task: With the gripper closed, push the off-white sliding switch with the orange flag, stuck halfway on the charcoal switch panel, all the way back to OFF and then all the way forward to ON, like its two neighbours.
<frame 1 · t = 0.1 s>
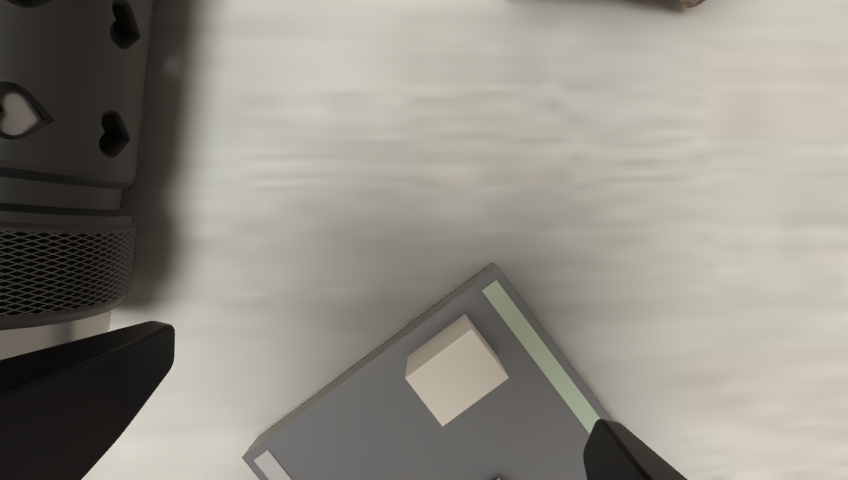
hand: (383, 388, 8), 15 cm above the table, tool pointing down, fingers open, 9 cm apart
muzzle brake: (123, 80, 23), on the table
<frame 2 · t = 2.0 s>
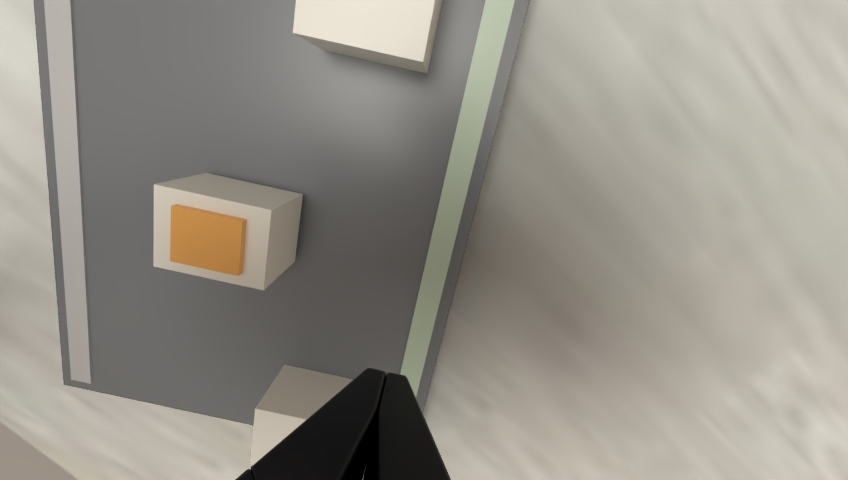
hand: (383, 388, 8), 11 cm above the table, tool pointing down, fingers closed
switch panel: (275, 206, 19), on the table
tripped switch: (231, 228, 15), point 4 cm above the table, slide at 4.0 cm
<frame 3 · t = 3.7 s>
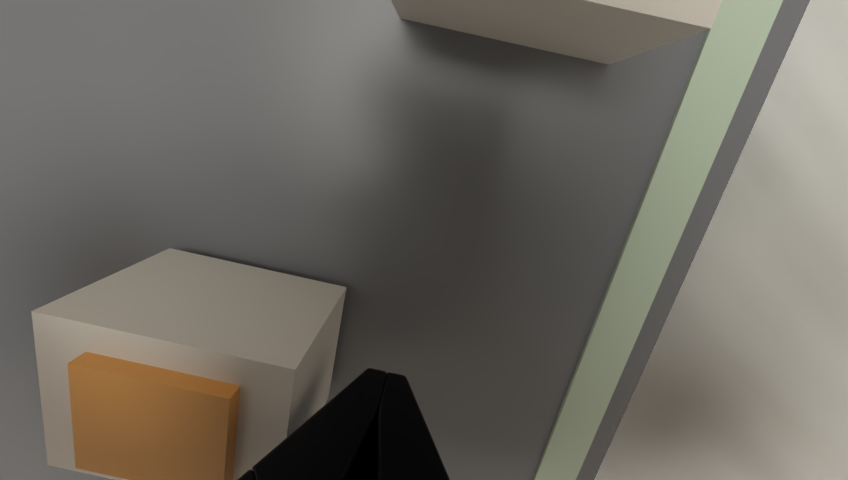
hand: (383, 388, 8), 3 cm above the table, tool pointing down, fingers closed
switch panel: (295, 287, 11), on the table
tripped switch: (211, 369, 8), point 4 cm above the table, slide at 3.9 cm, touching gripper
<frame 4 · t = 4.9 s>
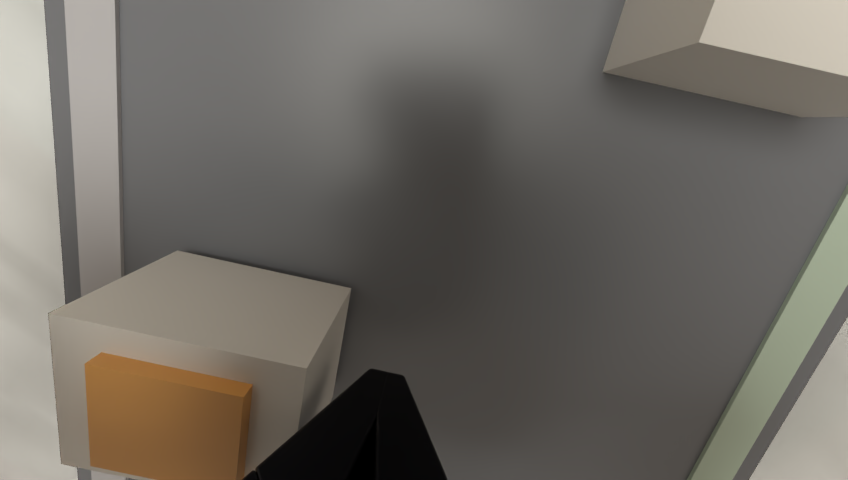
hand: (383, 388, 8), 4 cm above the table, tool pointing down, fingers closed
switch panel: (428, 316, 12), on the table
tripped switch: (221, 369, 8), point 4 cm above the table, slide at 0.0 cm, touching gripper
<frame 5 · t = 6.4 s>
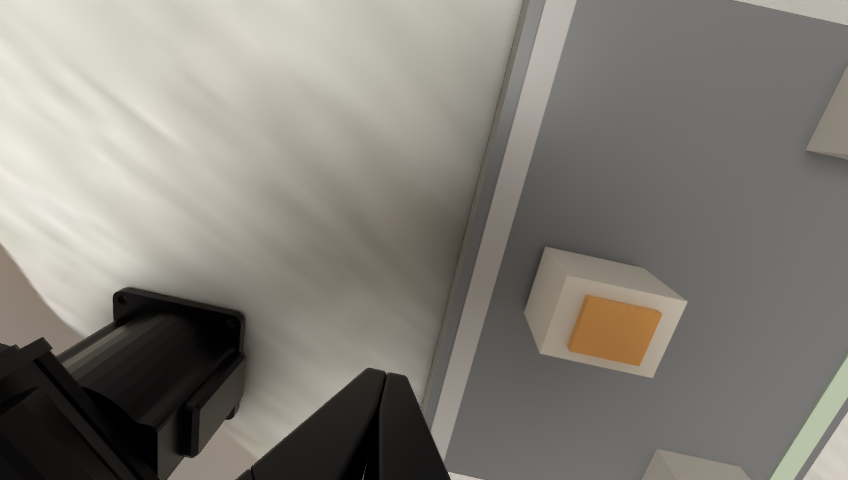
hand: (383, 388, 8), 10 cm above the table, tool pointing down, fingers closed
switch panel: (650, 288, 18), on the table
tripped switch: (596, 309, 14), point 4 cm above the table, slide at 0.0 cm
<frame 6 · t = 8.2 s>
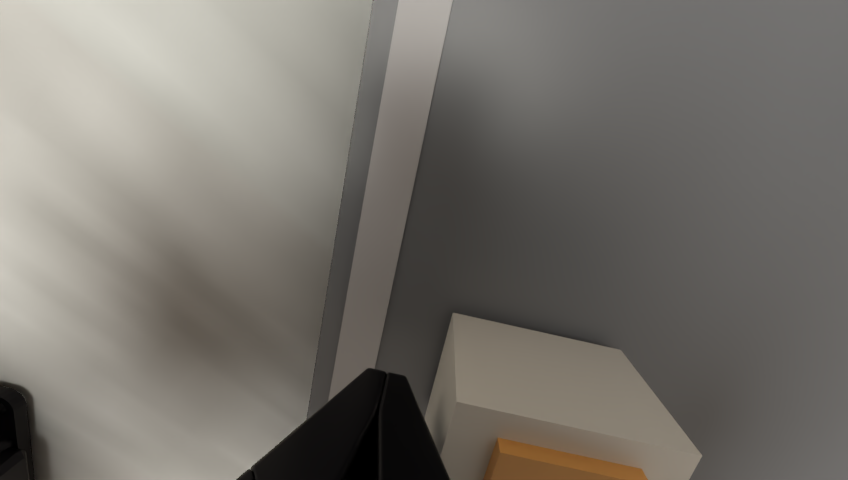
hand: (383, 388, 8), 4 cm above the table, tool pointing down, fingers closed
switch panel: (633, 363, 12), on the table
tripped switch: (533, 437, 8), point 4 cm above the table, slide at 0.0 cm, touching gripper
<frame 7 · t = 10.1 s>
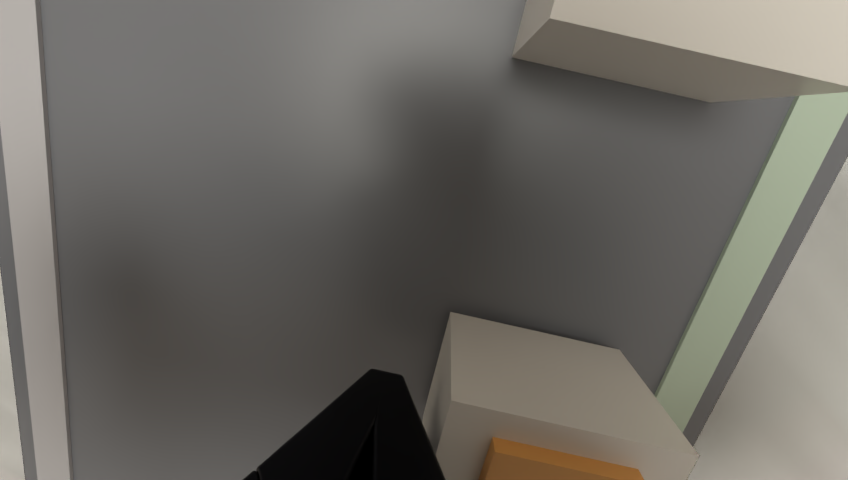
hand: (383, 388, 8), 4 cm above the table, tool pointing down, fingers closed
switch panel: (370, 304, 12), on the table
tripped switch: (530, 437, 8), point 4 cm above the table, slide at 8.1 cm, touching gripper
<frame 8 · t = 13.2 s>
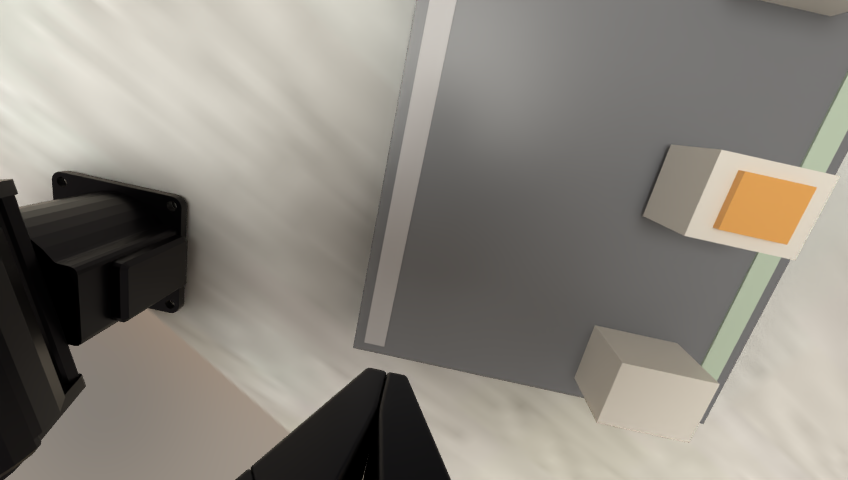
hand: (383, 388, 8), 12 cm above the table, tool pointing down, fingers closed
switch panel: (588, 164, 18), on the table
tripped switch: (731, 199, 14), point 4 cm above the table, slide at 8.1 cm
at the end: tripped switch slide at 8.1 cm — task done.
